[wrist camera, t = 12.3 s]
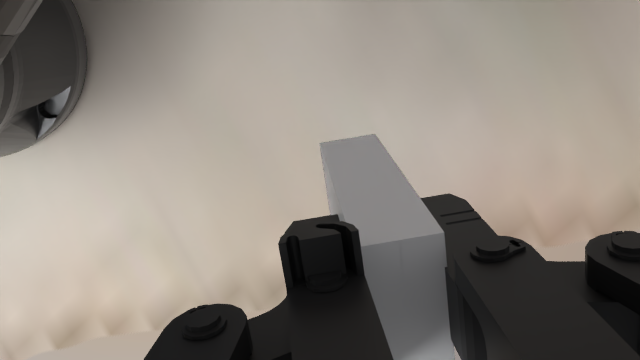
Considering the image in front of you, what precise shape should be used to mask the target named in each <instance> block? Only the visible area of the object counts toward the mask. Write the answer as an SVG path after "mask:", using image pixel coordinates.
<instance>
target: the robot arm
mask: <svg viewBox="0 0 640 360" xmlns="http://www.w3.org/2000/svg"><path fill="white" fill-rule="evenodd" d="M86 66H87V50H86V42H85V36H84V32H83V28H82V24H81V21H80V19H79V16H78V13H77V11H76V9H75V7H74V5H73V3H72V1H71V0H0V157H3V156H6V155H10V154H13V153H16V152H19V151H21V150H24V149H26V148H28V147H30V146H32V145H33V144H35V143H37V142H38V141H40V140H41V139H43V138H44V137H45V136H47V135H48V134H49V133H51V132H52V131H53V130H55V129H56V128H57V127H58V126H59V125H60V124H61V123H62V122H63V121H64V120H65V119H66V117H67V116H68V115H69V114H70V112H71V111H72V109H73V107H74V106H75V104H76V102H77V100H78V98H79V96H80V93H81V90H82V87H83V84H84V80H85V75H86ZM320 149H321V156H322V163H323V169H324V176H325V183H326V189H327V196H328V202H329V209H330V215H329V216H323V217H317V218H311V219H305V220H299V221H293V223H292V224H291V225H290V227H289V228H288V229H287V230H286V232H285V234H284V235H283V236H282V237H281V238H280V241H279V243H278V245H279V251H280V256H281V261H282V267H283V272H284V278H285V283H286V289H287V296H286V298H285V299H284V300H283V301H282V302H281V303H280V304H279V305H278V306H276V307H275V308H273V309H272V310H270V311H268V312H266V313H264V314H262V315H259V316H257V317H255V318H251V319H249V320H247V316H246V314H245V313H244V312H243V310H242V309H241V308H238V307H236V306H233V305H230V304H212V305H202V306H198V307H197V308H192V309H190V310H188V311H186V312H185V313H183V314H181V315H180V316H178V317H176V318H175V319H173V320H172V321H171V322H170V323H169V324H168V325H167V326H166V327H165V328H164V330H163V331H162V333H161V334H160V336H159V337H158V339H157V341H156V342H155V343H154V345H153V346H152V348H151V349H150V351H149V352H148V354H147V355H146V357H145V358H144V360H455V354H454V346H455V348H456V350H457V352H458V354H459V356H460V358H461V360H640V233H637V232H634V231H624V232H622V231H617V232H612V233H609V234H604V235H600V236H598V237H596V238H593V239H591V240H590V241H589V242H588V244H587V245H586V247H585V262H583V261H581V262H554V261H546V260H545V259H544V258H543V257H542V256H541V255H540V254H539V253H538V252H537V251H536V250H535V249H534V248H533V247H532V246H531V245H529V244H528V243H526V242H524V241H523V240H520V239H517V238H513V237H509V236H498V235H497V234H496V233H495V232H494V231H493V230H492V229H491V228H490V226H489V225H488V224H487V223H486V222H485V221H484V220H483V219H481V216H480V215H479V214H478V213H477V212H476V211H474V209H473V208H472V206H471V205H470V204H469V203H468V202H467V201H466V200H464V199H462V198H459V197H457V196H454V195H452V194H443V195H437V196H432V197H426V198H420V197H419V196H418V194H417V193H416V191H415V190H414V189H413V187H412V186H411V184H410V183H409V182H408V180H407V179H406V177H405V176H404V174H403V173H402V172H401V170H400V169H399V167H398V166H397V164H396V163H395V162H394V160H393V159H392V157H391V156H390V154H389V153H388V152H387V150H386V149H385V147H384V146H383V145H382V143H381V142H380V140H379V139H378V137H377V136H376V135H375V134H372V135H366V136H360V137H354V138H348V139H341V140H335V141H329V142H323V143H320Z"/></svg>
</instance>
